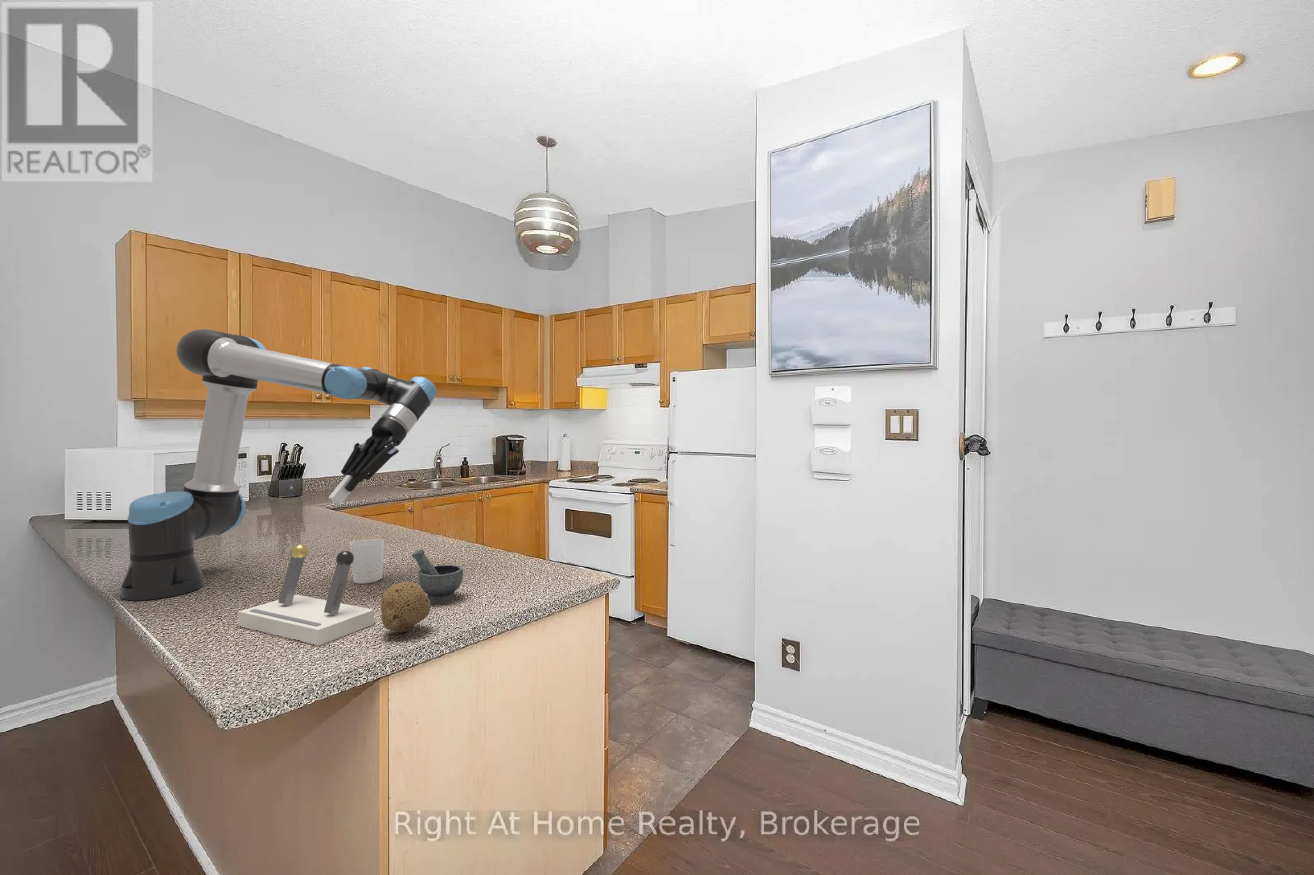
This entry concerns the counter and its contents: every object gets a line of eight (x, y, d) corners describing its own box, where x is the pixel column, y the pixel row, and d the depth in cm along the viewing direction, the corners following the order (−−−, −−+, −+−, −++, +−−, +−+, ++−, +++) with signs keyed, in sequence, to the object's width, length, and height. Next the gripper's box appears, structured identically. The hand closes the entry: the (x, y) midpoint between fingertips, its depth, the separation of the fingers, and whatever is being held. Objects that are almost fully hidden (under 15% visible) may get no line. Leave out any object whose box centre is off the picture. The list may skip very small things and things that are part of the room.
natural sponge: (435, 622, 116) (434, 575, 116) (424, 639, 108) (424, 588, 107) (388, 625, 115) (388, 576, 115) (373, 642, 106) (373, 590, 106)
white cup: (390, 576, 150) (390, 539, 149) (372, 585, 142) (372, 546, 142) (362, 575, 151) (362, 538, 150) (343, 584, 143) (343, 545, 142)
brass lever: (287, 602, 119) (303, 544, 122) (297, 604, 118) (313, 545, 121) (272, 602, 116) (289, 542, 120) (282, 604, 115) (299, 544, 118)
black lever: (332, 612, 114) (348, 550, 117) (343, 614, 112) (359, 552, 116) (318, 611, 111) (334, 549, 114) (329, 614, 110) (345, 550, 113)
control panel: (296, 607, 125) (296, 593, 125) (374, 624, 115) (373, 608, 115) (238, 626, 114) (238, 610, 114) (318, 646, 104) (318, 628, 104)
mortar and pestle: (465, 592, 137) (465, 543, 136) (460, 604, 128) (460, 552, 127) (416, 594, 135) (416, 545, 134) (407, 607, 125) (407, 554, 125)
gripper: (421, 436, 141) (365, 512, 127) (384, 436, 146) (326, 509, 132) (404, 415, 136) (343, 492, 121) (366, 415, 141) (303, 489, 127)
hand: (334, 501), depth 127 cm, fingers closed
